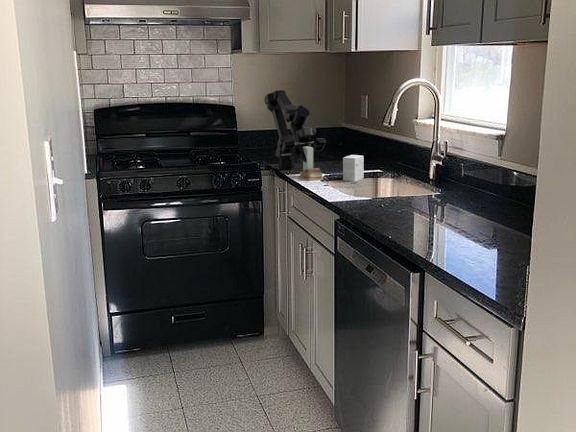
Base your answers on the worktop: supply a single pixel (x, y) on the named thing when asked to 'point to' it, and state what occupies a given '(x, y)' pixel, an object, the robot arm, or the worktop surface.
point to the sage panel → (308, 157)
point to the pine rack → (311, 174)
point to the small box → (353, 168)
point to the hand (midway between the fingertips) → (309, 161)
